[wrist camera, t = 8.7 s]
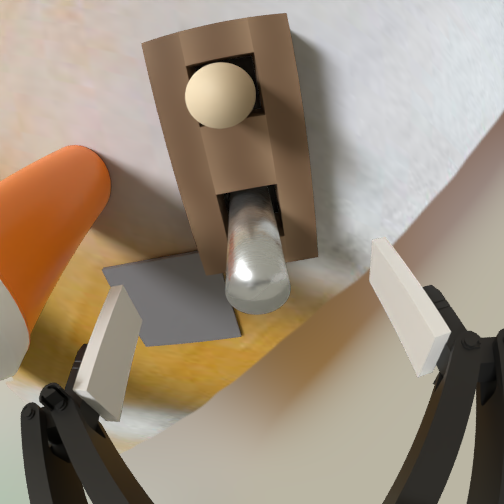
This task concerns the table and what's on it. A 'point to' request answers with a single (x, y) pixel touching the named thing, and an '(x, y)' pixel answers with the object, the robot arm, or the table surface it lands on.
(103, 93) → the table surface
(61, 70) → the table surface
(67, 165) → the shaker bottle
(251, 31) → the hole block
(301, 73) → the table surface
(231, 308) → the mat
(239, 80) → the dowel
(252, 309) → the peg
